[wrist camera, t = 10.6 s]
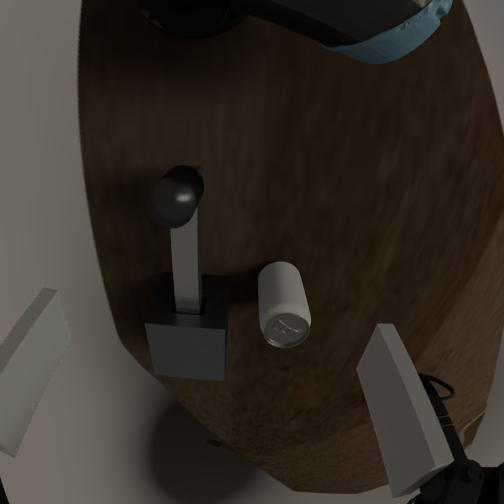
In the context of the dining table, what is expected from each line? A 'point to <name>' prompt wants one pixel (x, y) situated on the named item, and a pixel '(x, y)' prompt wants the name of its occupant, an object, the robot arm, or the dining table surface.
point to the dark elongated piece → (181, 230)
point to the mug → (430, 389)
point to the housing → (190, 331)
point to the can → (283, 305)
